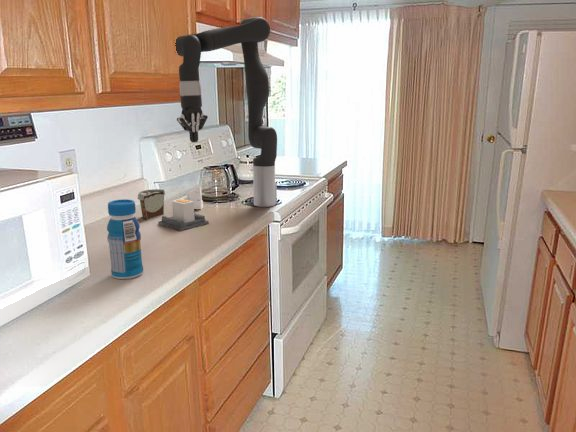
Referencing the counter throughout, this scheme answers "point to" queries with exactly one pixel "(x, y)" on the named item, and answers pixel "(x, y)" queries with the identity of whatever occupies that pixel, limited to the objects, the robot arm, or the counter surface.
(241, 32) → the robot arm
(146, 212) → the food container
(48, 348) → the counter surface
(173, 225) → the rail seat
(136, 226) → the beverage bottle
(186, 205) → the block
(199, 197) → the white wedge bracket
